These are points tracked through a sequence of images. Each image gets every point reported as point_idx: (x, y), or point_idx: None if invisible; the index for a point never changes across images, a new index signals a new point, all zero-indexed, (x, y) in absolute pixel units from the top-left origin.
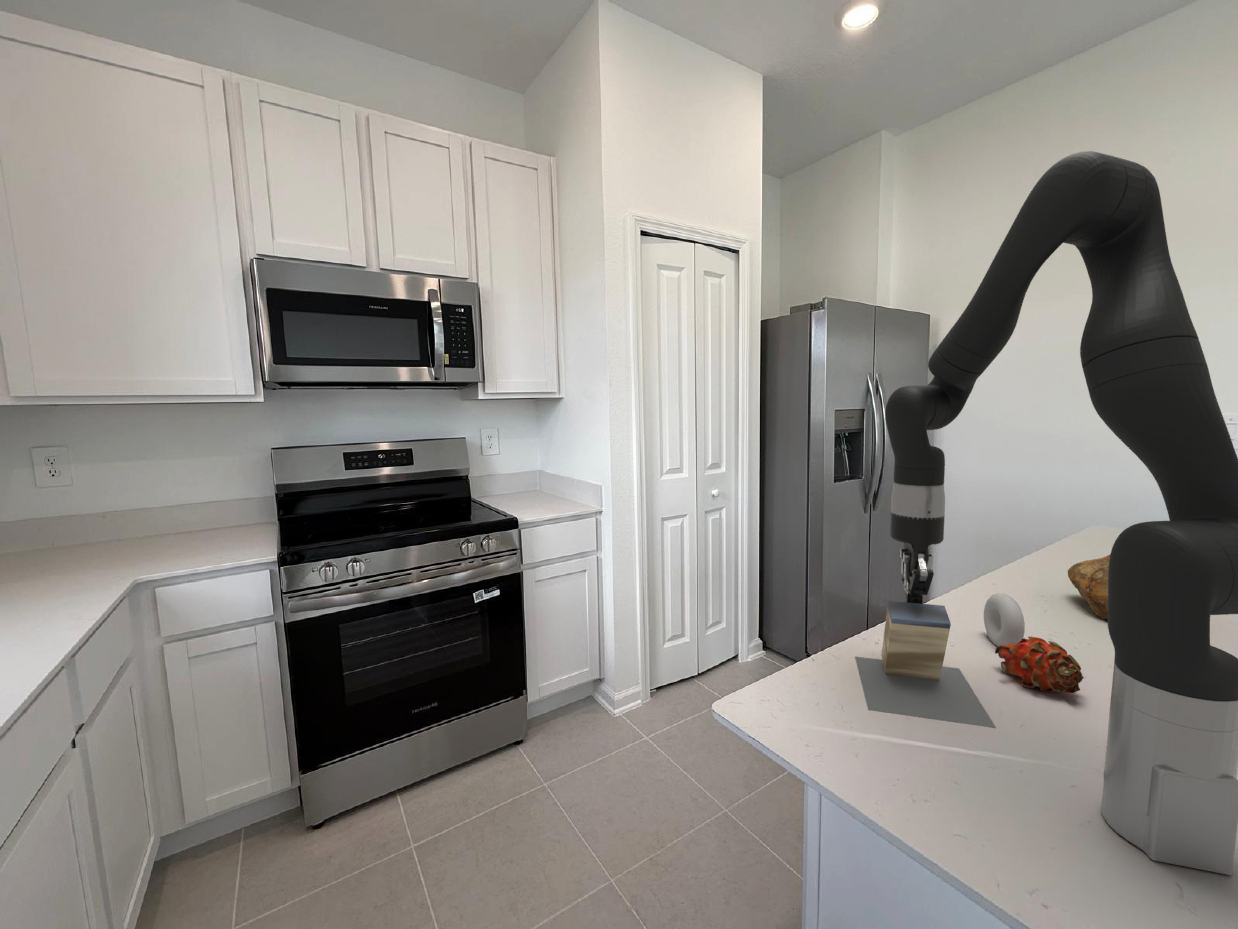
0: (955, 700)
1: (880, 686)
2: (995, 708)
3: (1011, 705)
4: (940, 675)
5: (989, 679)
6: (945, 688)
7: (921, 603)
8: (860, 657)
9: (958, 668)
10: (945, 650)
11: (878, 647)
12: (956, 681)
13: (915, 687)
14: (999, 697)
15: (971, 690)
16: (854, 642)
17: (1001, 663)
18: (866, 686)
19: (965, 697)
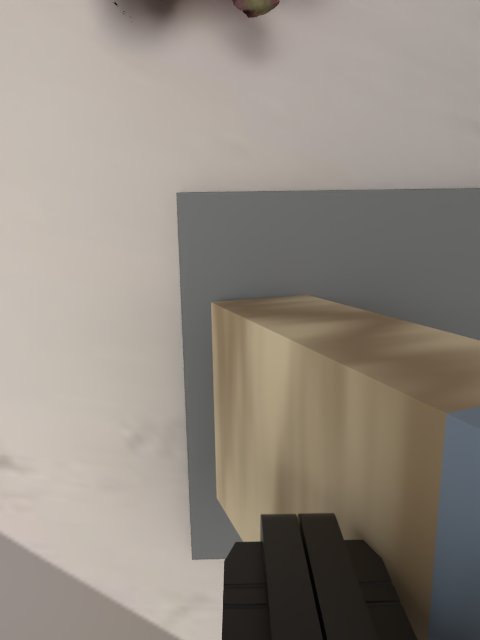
0: (456, 275)
1: None
2: (447, 136)
3: (412, 66)
4: (320, 298)
5: (210, 82)
6: (372, 289)
7: (364, 604)
8: (195, 543)
9: (178, 195)
10: (426, 327)
11: (47, 460)
12: (302, 233)
13: None
14: (358, 92)
15: (365, 195)
16: (32, 540)
17: (242, 6)
18: None
19: (427, 233)
